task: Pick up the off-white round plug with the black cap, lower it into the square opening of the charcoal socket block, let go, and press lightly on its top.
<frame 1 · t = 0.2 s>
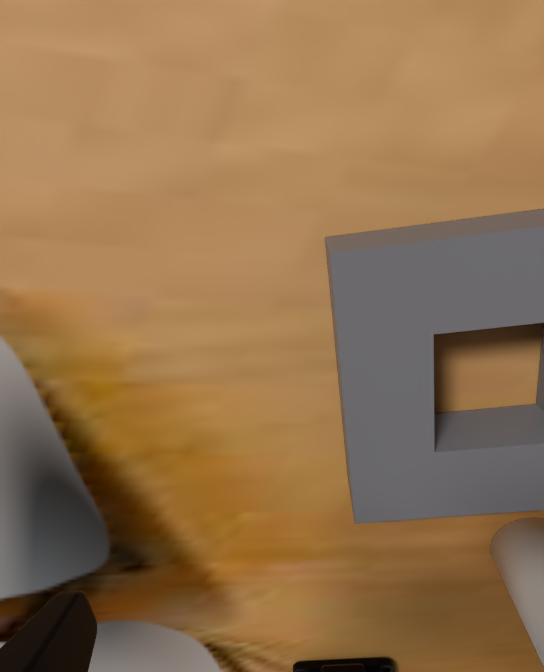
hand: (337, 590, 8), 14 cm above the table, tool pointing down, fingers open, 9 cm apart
socket block: (477, 358, 22), on the table
plug: (526, 545, 26), on the table
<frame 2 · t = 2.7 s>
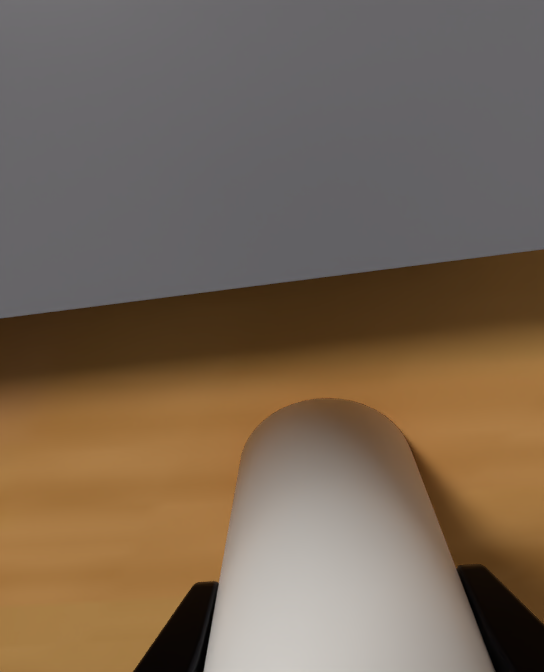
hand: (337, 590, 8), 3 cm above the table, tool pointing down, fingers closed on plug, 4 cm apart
plug: (325, 474, 11), on the table, touching gripper
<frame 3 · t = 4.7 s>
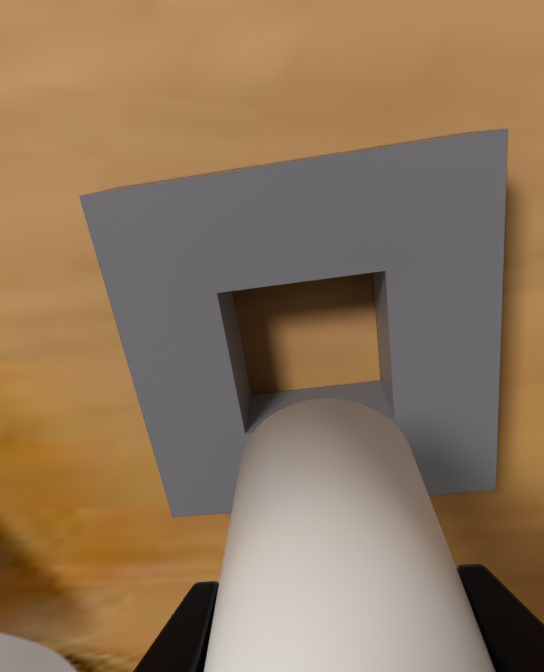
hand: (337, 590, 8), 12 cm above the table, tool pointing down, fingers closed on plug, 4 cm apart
socket block: (307, 327, 19), on the table
plug: (326, 474, 11), point 9 cm above the table, touching gripper
when the fingers open (4 cm above the table, at t = 7.2 s): plug drops 1 cm, resting in socket block.
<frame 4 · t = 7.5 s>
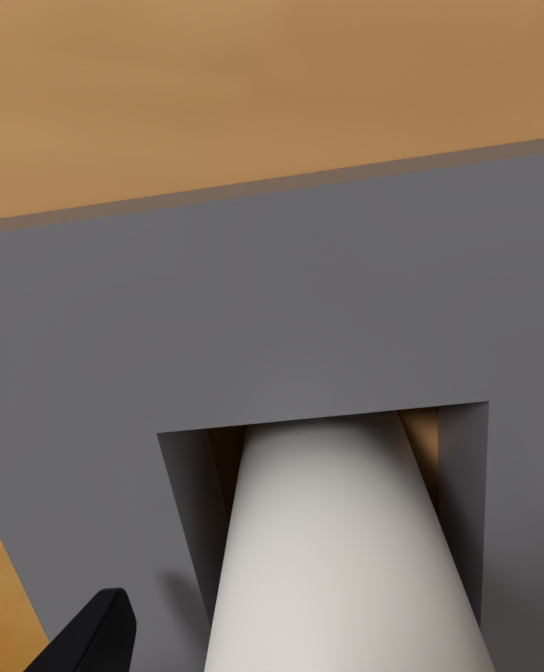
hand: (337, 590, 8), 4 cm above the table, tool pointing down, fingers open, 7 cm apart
socket block: (323, 447, 12), on the table
plug: (323, 447, 12), resting in socket block
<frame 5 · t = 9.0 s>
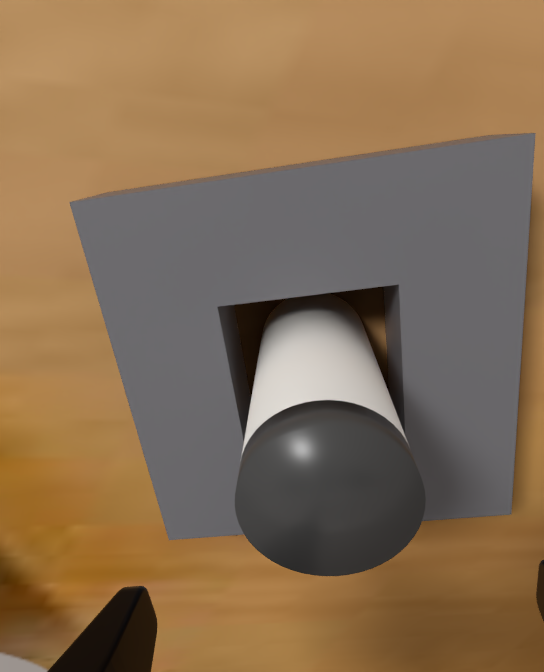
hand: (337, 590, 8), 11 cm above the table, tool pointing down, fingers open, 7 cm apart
socket block: (312, 341, 18), on the table
plug: (313, 341, 18), resting in socket block
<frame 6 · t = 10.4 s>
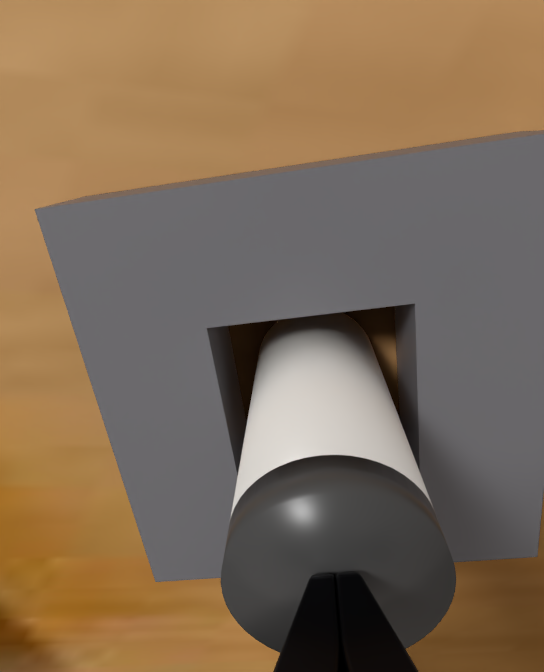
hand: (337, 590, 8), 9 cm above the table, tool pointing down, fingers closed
socket block: (315, 361, 16), on the table
plug: (315, 361, 16), resting in socket block
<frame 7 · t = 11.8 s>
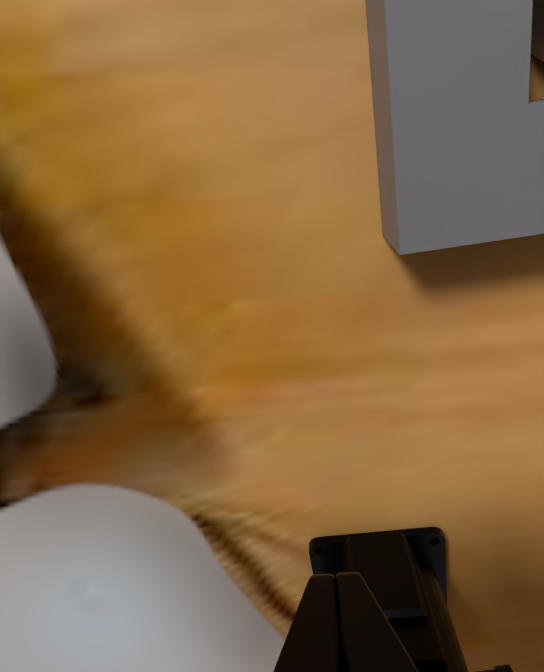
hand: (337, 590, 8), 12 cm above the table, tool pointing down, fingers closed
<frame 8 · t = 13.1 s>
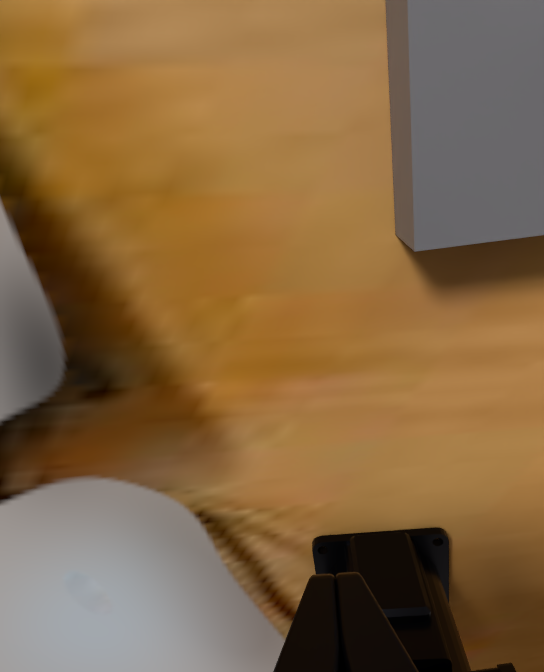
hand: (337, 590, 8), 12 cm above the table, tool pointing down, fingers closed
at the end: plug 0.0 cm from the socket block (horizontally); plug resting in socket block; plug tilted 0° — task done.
